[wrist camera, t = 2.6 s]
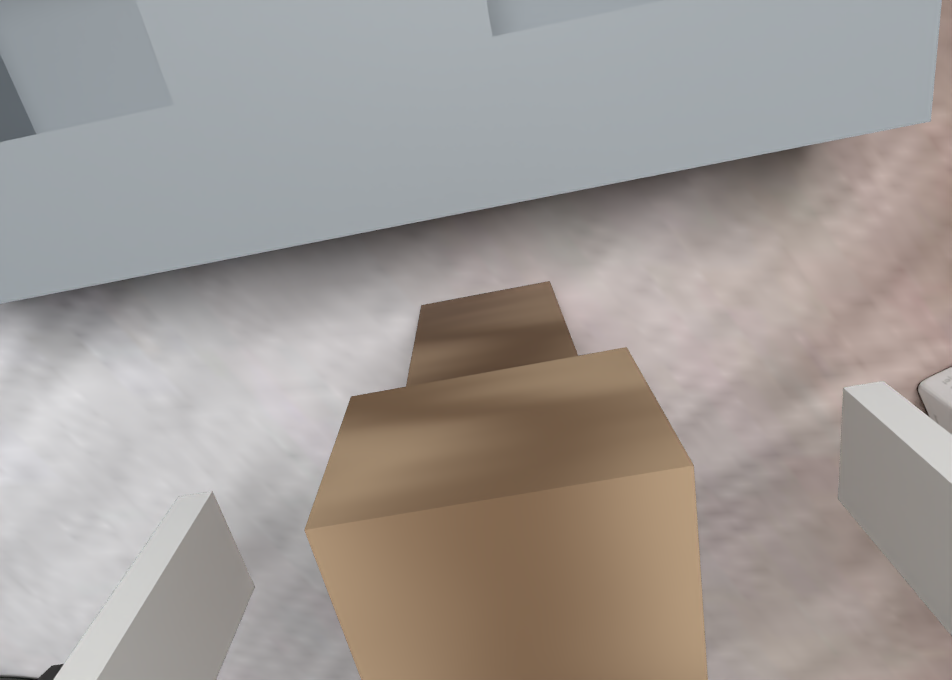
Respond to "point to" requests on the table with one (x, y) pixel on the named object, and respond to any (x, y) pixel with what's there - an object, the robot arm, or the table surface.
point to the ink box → (938, 398)
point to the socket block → (400, 112)
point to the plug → (511, 510)
